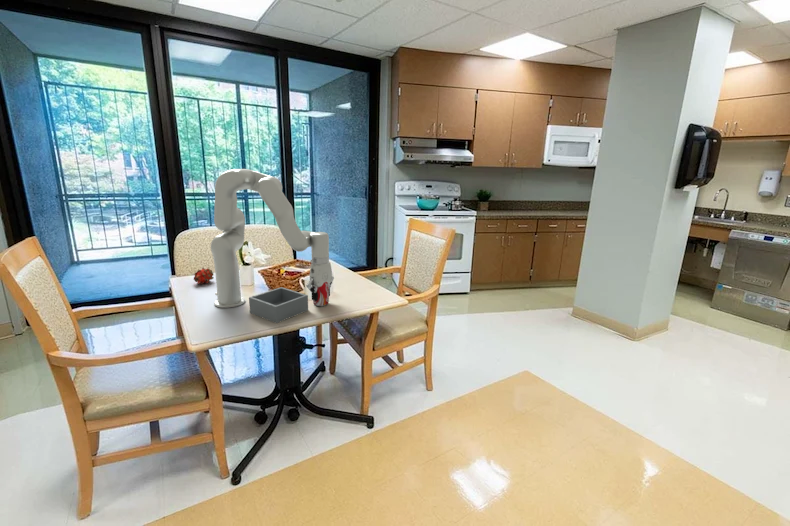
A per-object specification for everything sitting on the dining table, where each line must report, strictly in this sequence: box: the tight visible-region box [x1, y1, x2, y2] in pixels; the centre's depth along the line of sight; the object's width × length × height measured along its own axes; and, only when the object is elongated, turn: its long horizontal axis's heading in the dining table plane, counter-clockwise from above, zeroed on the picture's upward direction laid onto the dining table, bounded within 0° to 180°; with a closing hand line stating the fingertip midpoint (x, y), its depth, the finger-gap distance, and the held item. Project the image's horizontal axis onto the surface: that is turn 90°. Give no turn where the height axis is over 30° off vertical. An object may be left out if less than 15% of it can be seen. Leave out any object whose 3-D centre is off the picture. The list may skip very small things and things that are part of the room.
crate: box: [248, 286, 309, 324], centre depth 156 cm, size 17×17×7 cm
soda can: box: [312, 282, 330, 307], centre depth 165 cm, size 7×7×12 cm
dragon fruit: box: [193, 267, 215, 285], centre depth 188 cm, size 8×8×12 cm
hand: (320, 297), depth 166 cm, fingers closed on soda can, 7 cm apart
